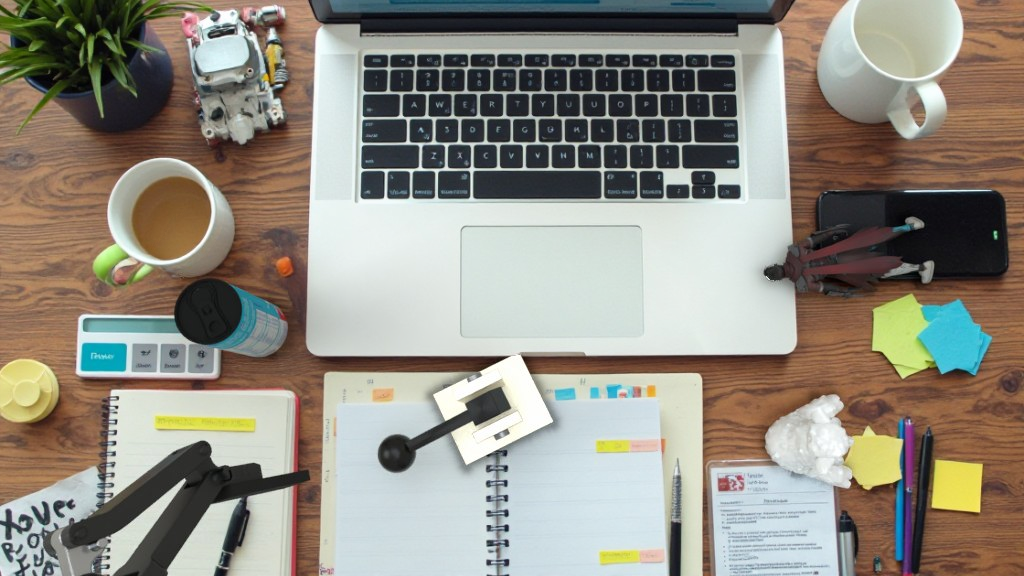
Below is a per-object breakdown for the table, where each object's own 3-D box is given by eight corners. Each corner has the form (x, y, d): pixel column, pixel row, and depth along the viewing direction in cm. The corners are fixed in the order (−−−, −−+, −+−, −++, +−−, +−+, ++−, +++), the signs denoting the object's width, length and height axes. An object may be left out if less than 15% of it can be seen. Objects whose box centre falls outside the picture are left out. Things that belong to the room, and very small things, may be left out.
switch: (401, 472, 74) (379, 483, 71) (386, 438, 75) (363, 447, 72) (518, 414, 69) (500, 422, 65) (500, 377, 69) (482, 384, 66)
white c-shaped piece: (466, 464, 80) (454, 475, 65) (434, 394, 81) (414, 389, 66) (553, 421, 80) (560, 422, 66) (519, 352, 82) (518, 338, 67)
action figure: (904, 219, 84) (745, 244, 83) (934, 199, 78) (763, 226, 77) (926, 289, 82) (763, 316, 81) (958, 274, 76) (783, 303, 75)
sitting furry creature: (849, 487, 79) (906, 499, 67) (765, 493, 79) (808, 505, 67) (836, 394, 80) (890, 389, 69) (753, 399, 80) (793, 396, 69)
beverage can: (282, 295, 83) (231, 269, 68) (297, 347, 82) (248, 332, 67) (229, 313, 83) (166, 290, 68) (243, 365, 82) (182, 353, 67)
